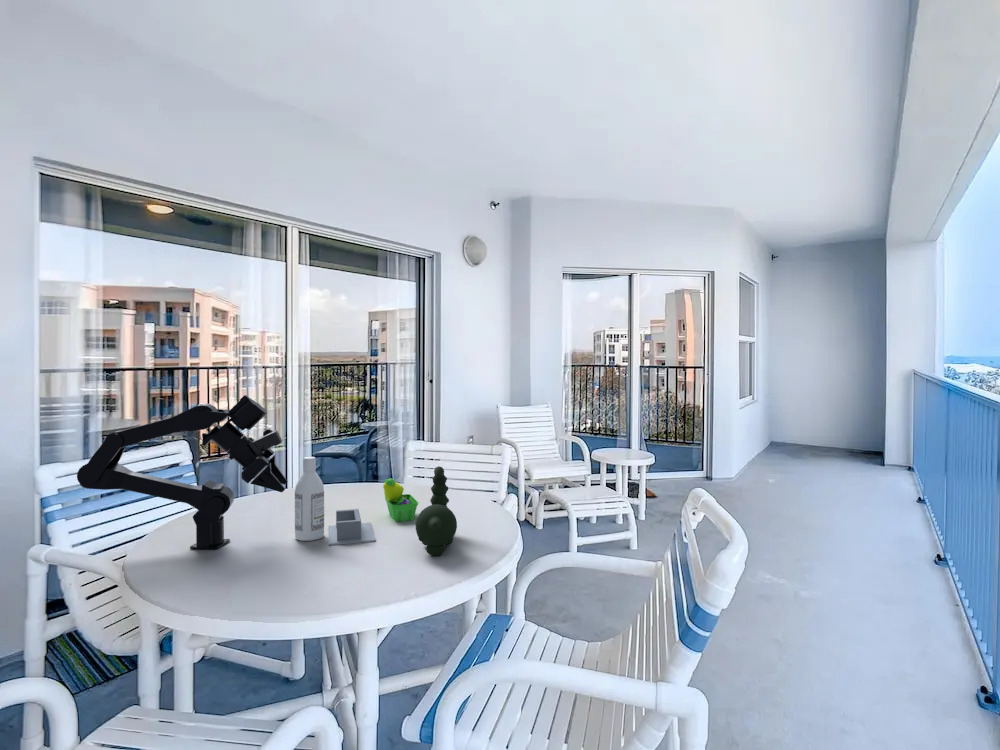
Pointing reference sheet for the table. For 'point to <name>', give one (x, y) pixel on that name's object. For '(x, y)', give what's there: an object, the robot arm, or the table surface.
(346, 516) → the gray square holder
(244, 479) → the robot arm
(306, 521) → the bath foam
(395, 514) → the fruit basket
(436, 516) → the dark green ornament
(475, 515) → the table surface
